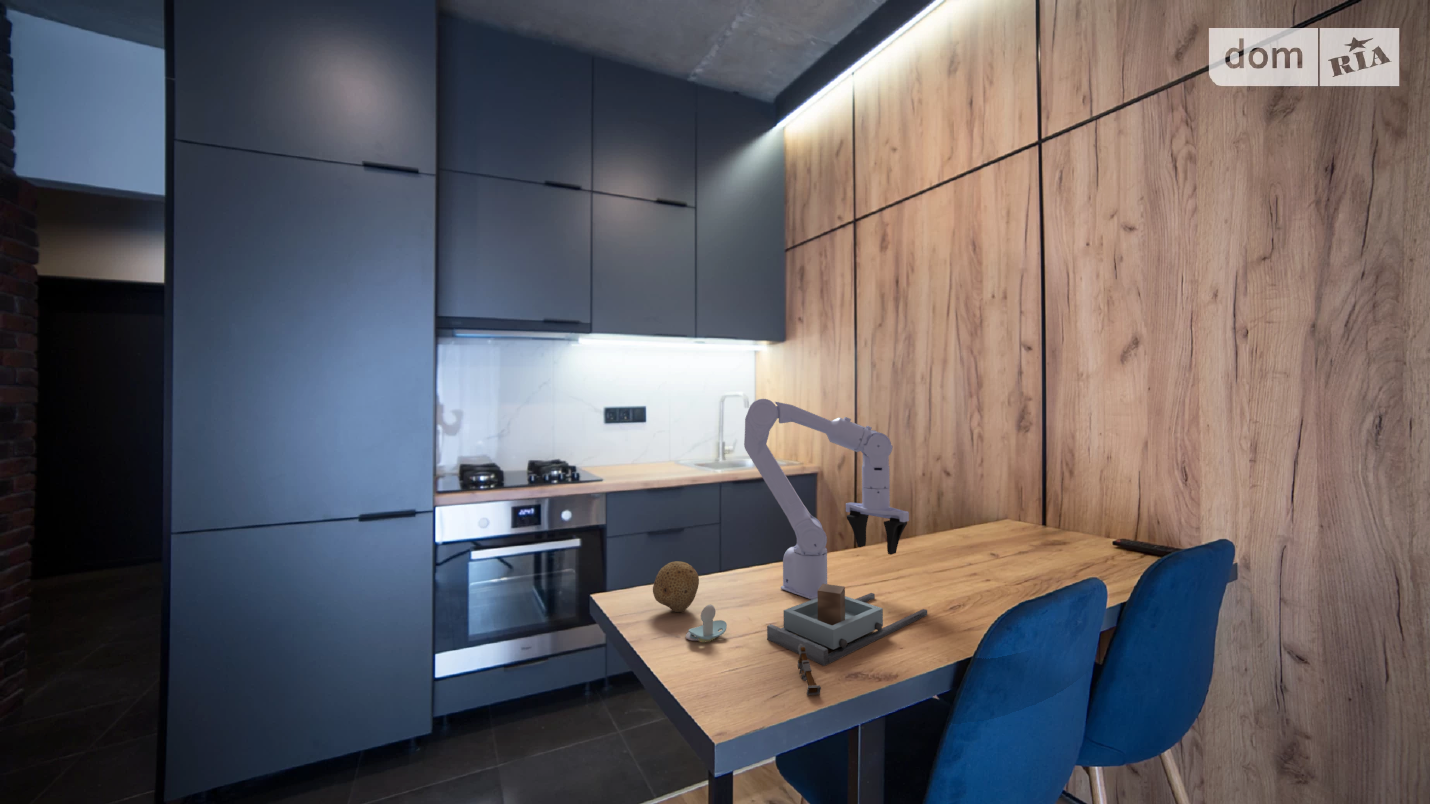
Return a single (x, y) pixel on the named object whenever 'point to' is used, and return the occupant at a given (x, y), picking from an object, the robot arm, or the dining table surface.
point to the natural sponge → (676, 585)
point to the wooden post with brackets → (807, 672)
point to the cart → (855, 625)
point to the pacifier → (707, 626)
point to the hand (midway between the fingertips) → (876, 549)
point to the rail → (821, 653)
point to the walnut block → (831, 604)
